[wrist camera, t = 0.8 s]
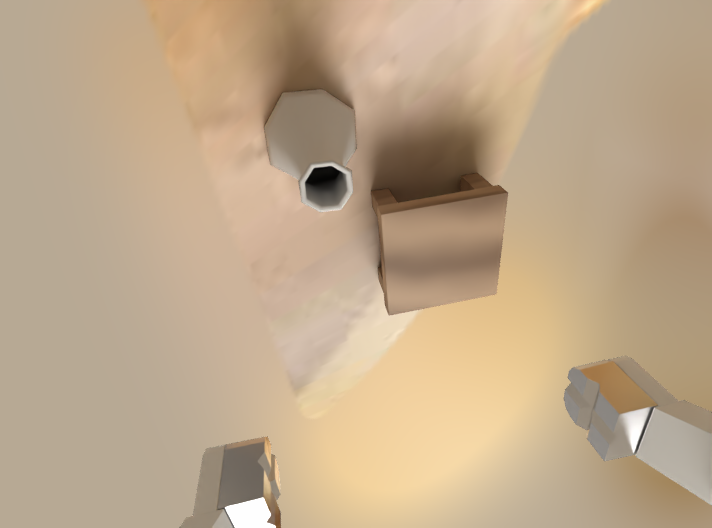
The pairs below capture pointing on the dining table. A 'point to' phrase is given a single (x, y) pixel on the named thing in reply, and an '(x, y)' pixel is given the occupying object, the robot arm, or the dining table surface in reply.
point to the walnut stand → (440, 245)
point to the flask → (314, 146)
